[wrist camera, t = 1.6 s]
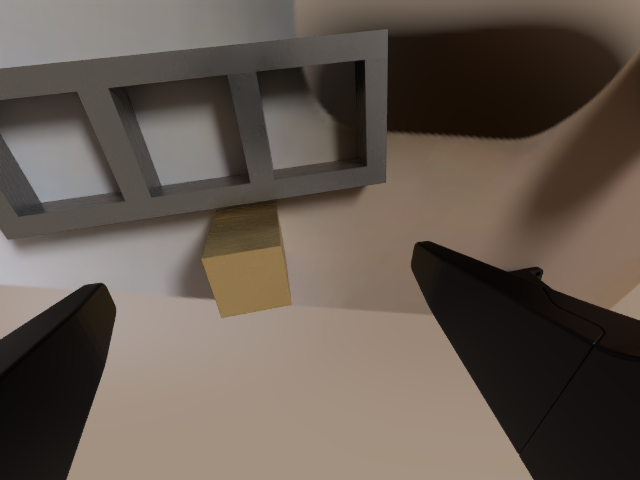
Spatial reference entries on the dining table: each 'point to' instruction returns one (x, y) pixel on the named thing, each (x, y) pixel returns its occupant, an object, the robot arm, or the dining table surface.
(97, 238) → the dining table surface
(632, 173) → the dining table surface
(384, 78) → the grey flat frame
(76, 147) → the dining table surface
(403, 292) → the dining table surface
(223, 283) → the brass block
